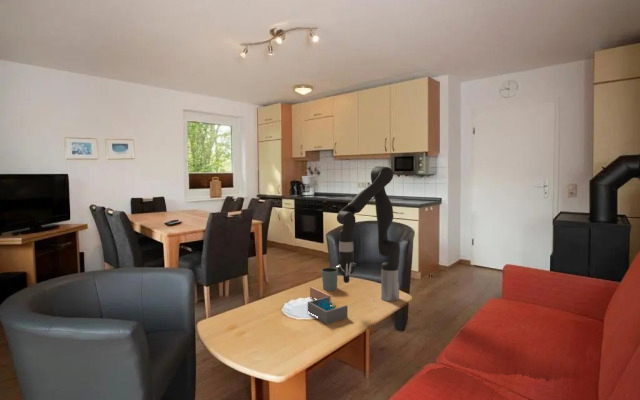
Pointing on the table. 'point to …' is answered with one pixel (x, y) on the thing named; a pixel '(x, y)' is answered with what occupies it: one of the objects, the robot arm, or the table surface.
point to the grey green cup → (329, 278)
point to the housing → (327, 315)
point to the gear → (326, 305)
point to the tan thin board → (318, 294)
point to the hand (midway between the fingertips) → (346, 282)
